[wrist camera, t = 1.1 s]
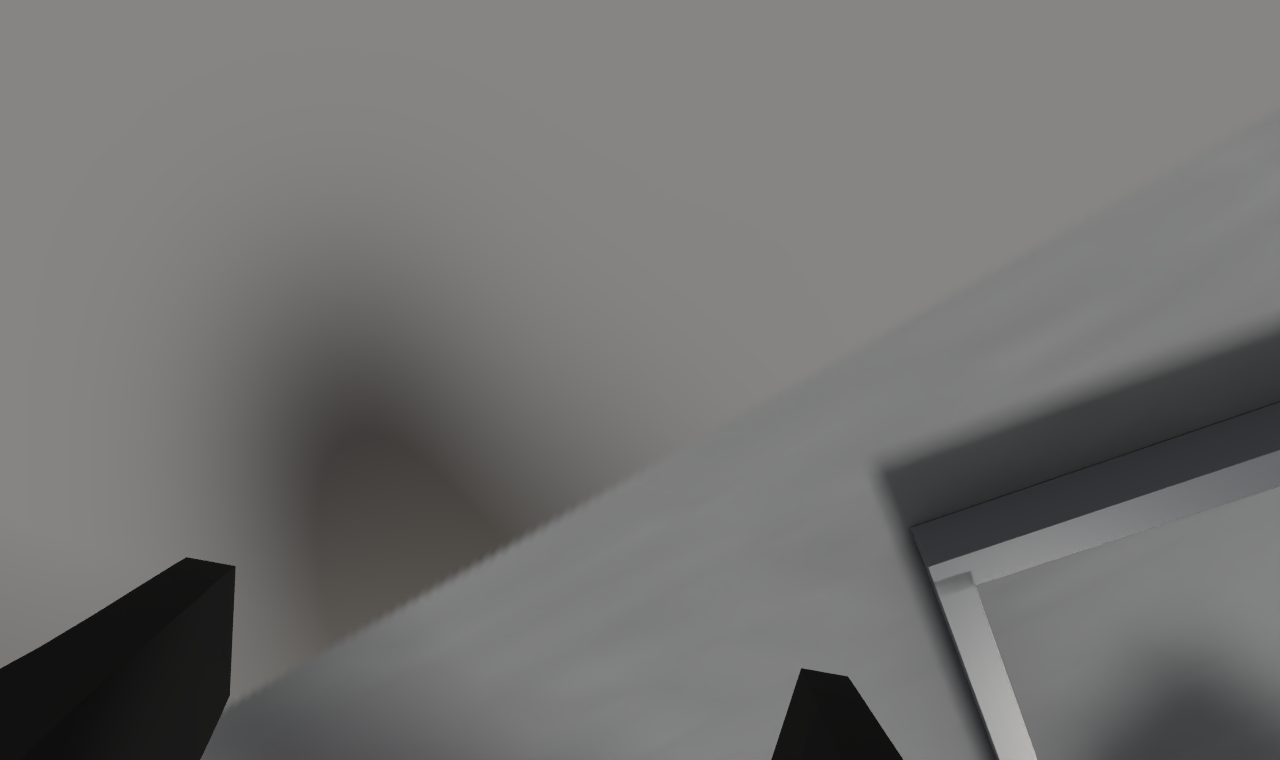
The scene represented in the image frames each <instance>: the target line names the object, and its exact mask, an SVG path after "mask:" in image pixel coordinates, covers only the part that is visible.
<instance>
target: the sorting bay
mask: <svg viewBox="0 0 1280 760" xmlns="http://www.w3.org/2000/svg"><path fill="white" fill-rule="evenodd" d="M1278 486H1280V402H1278V403H1276V404H1273V405H1270V406H1267V407H1264V408H1261V409H1258V410H1255V411H1252V412H1249V413H1246V414H1243V415H1240V416H1237V417H1234V418H1231V419H1229V420H1226V421H1223V422H1220V423H1217V424H1214V425H1211V426H1208V427H1205V428H1202V429H1199V430H1196V431H1193V432H1190V433H1187V434H1185V435H1182V436H1179V437H1176V438H1173V439H1170V440H1167V441H1164V442H1161V443H1158V444H1155V445H1152V446H1149V447H1146V448H1143V449H1141V450H1138V451H1135V452H1132V453H1129V454H1126V455H1123V456H1120V457H1117V458H1114V459H1111V460H1108V461H1105V462H1102V463H1099V464H1096V465H1094V466H1091V467H1088V468H1085V469H1082V470H1079V471H1076V472H1073V473H1070V474H1067V475H1064V476H1061V477H1058V478H1055V479H1052V480H1050V481H1047V482H1044V483H1041V484H1038V485H1035V486H1032V487H1029V488H1026V489H1023V490H1020V491H1017V492H1014V493H1011V494H1008V495H1006V496H1003V497H1000V498H997V499H994V500H991V501H988V502H985V503H982V504H979V505H976V506H973V507H970V508H967V509H964V510H962V511H959V512H956V513H953V514H950V515H947V516H944V517H941V518H938V519H935V520H932V521H929V522H926V523H923V524H920V525H917V526H915V527H912V528H911V531H912V533H913V536H914V539H915V541H916V544H917V547H918V549H919V552H920V555H921V558H922V560H923V563H924V566H925V568H926V571H927V574H928V576H929V579H930V582H931V584H932V587H933V590H934V593H935V595H936V598H937V601H938V603H939V606H940V609H941V611H942V614H943V617H944V620H945V622H946V625H947V628H948V630H949V633H950V636H951V638H952V641H953V644H954V646H955V649H956V652H957V655H958V657H959V660H960V663H961V665H962V668H963V671H964V673H965V676H966V679H967V681H968V684H969V687H970V690H971V692H972V695H973V698H974V700H975V703H976V706H977V708H978V711H979V714H980V717H981V719H982V722H983V725H984V727H985V730H986V733H987V735H988V738H989V741H990V743H991V746H992V749H993V752H994V754H995V757H996V760H1037V757H1036V754H1035V751H1034V749H1033V746H1032V743H1031V740H1030V737H1029V735H1028V732H1027V729H1026V726H1025V723H1024V721H1023V718H1022V715H1021V712H1020V709H1019V707H1018V704H1017V701H1016V698H1015V695H1014V692H1013V690H1012V687H1011V684H1010V681H1009V678H1008V676H1007V673H1006V670H1005V667H1004V664H1003V662H1002V659H1001V656H1000V653H999V650H998V648H997V645H996V642H995V639H994V636H993V633H992V631H991V628H990V625H989V622H988V619H987V617H986V614H985V611H984V608H983V605H982V603H981V600H980V597H979V594H978V591H977V589H976V585H979V584H982V583H985V582H988V581H991V580H994V579H998V578H1001V577H1004V576H1007V575H1010V574H1013V573H1016V572H1019V571H1022V570H1025V569H1028V568H1031V567H1034V566H1037V565H1040V564H1043V563H1046V562H1049V561H1053V560H1056V559H1059V558H1062V557H1065V556H1068V555H1071V554H1074V553H1077V552H1080V551H1083V550H1086V549H1089V548H1092V547H1095V546H1098V545H1101V544H1104V543H1107V542H1111V541H1114V540H1117V539H1120V538H1123V537H1126V536H1129V535H1132V534H1135V533H1138V532H1141V531H1144V530H1147V529H1150V528H1153V527H1156V526H1159V525H1162V524H1166V523H1169V522H1172V521H1175V520H1178V519H1181V518H1184V517H1187V516H1190V515H1193V514H1196V513H1199V512H1202V511H1205V510H1208V509H1211V508H1214V507H1217V506H1220V505H1224V504H1227V503H1230V502H1233V501H1236V500H1239V499H1242V498H1245V497H1248V496H1251V495H1254V494H1257V493H1260V492H1263V491H1266V490H1269V489H1272V488H1275V487H1278Z"/></svg>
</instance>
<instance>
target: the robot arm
mask: <svg viewBox="0 0 1280 760" xmlns="http://www.w3.org/2000/svg"><path fill="white" fill-rule="evenodd" d="M234 588H235V566H231V565H226V564H220V563H215V562H209V561H203V560H198V559H193V558H187V557H186V558H185V559H183V560H181V561H180V562H178V563H176V564H174V565H173V566H171V567H170V568H168V569H166V570H165V571H163V572H161V573H160V574H158V575H157V576H155V577H153V578H152V579H150V580H149V581H147V582H145V583H144V584H142V585H140V586H139V587H137V588H136V589H134V590H132V591H131V592H129V593H128V594H126V595H125V596H123V597H121V598H120V599H118V600H117V601H115V602H113V603H112V604H110V605H109V606H107V607H105V608H104V609H102V610H101V611H99V612H97V613H96V614H94V615H92V616H91V617H89V618H88V619H86V620H84V621H83V622H81V623H79V624H77V625H76V626H74V627H72V628H71V629H69V630H67V631H66V632H64V633H62V634H61V635H59V636H57V637H56V638H54V639H53V640H51V641H50V642H47V643H46V644H44V645H42V646H41V647H39V648H37V649H35V650H34V651H32V652H30V653H28V654H26V655H25V656H23V657H21V658H19V659H17V660H15V661H13V662H12V663H10V664H8V665H6V666H4V667H2V668H1V669H0V760H200V759H201V757H202V755H203V753H204V750H205V748H206V746H207V744H208V742H209V740H210V738H211V736H212V734H213V731H214V729H215V727H216V725H217V722H218V720H219V718H220V716H221V714H222V711H223V709H224V707H225V705H226V702H227V700H228V698H229V696H230V676H231V675H230V674H231V654H232V631H233V610H234ZM772 760H903V759H902V757H901V756H900V754H899V753H898V751H897V750H896V748H895V747H894V745H893V744H892V742H891V741H890V739H889V738H888V736H887V735H886V733H885V732H884V730H883V729H882V727H881V726H880V724H879V723H878V721H877V720H876V718H875V717H874V715H873V714H872V712H871V711H870V709H869V708H868V706H867V704H866V703H865V701H864V700H863V698H862V697H861V695H860V694H859V692H858V691H857V689H856V688H855V686H854V685H853V683H852V682H851V680H850V679H849V678H848V677H847V676H841V675H836V674H830V673H825V672H819V671H814V670H808V669H802V668H801V671H800V674H799V677H798V680H797V683H796V686H795V689H794V692H793V695H792V699H791V702H790V705H789V708H788V711H787V714H786V717H785V720H784V723H783V726H782V729H781V732H780V735H779V738H778V741H777V745H776V748H775V751H774V754H773V757H772Z"/></svg>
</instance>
